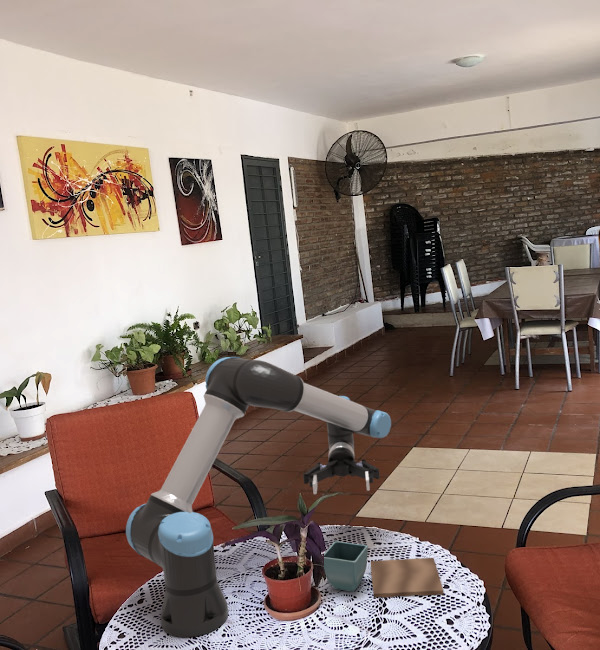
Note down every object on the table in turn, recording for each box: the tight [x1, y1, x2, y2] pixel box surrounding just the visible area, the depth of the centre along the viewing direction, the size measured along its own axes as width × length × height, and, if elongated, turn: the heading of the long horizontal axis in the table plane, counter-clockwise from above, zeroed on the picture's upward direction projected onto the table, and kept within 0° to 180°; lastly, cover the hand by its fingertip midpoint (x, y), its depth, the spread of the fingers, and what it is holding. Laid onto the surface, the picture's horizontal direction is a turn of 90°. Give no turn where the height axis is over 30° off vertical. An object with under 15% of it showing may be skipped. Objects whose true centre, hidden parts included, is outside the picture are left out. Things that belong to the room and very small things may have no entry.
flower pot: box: [323, 541, 369, 593], centre depth 162 cm, size 9×9×9 cm
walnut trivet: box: [370, 557, 444, 599], centre depth 163 cm, size 16×16×1 cm
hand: (341, 487), depth 171 cm, fingers open, 13 cm apart
